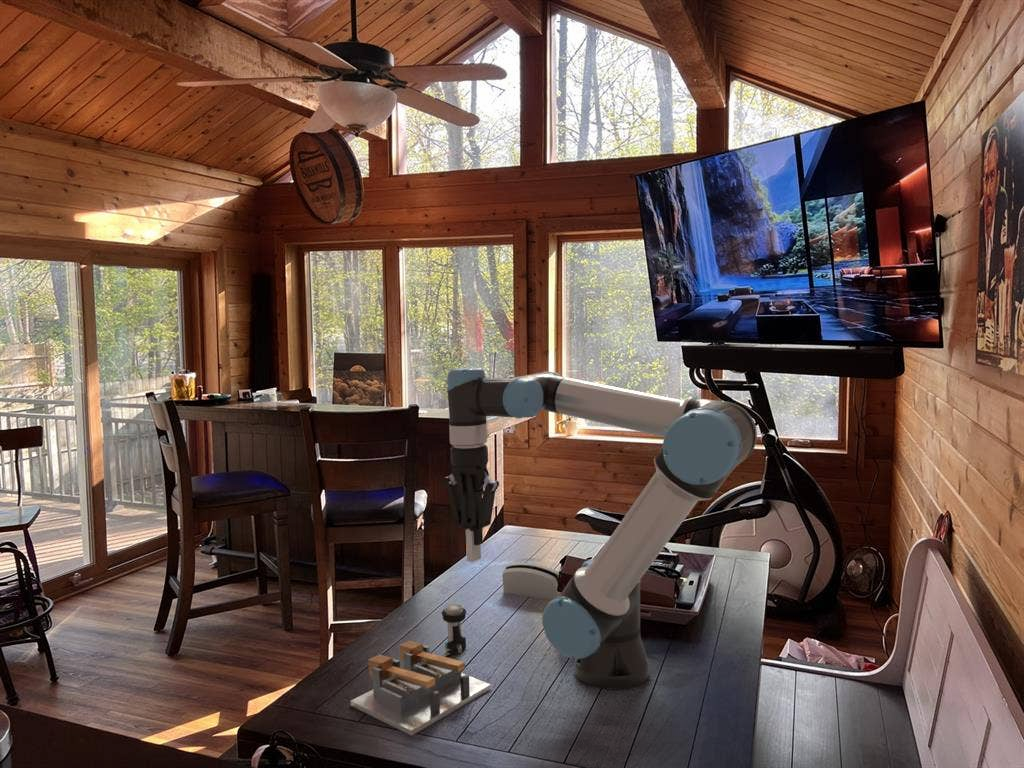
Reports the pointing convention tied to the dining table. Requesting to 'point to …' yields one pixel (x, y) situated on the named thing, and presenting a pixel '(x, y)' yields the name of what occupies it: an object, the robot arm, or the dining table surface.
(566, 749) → the dining table surface
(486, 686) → the heatsink base
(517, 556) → the dining table surface
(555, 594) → the pale grey rounded block
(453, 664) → the strap right
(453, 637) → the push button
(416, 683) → the strap left
